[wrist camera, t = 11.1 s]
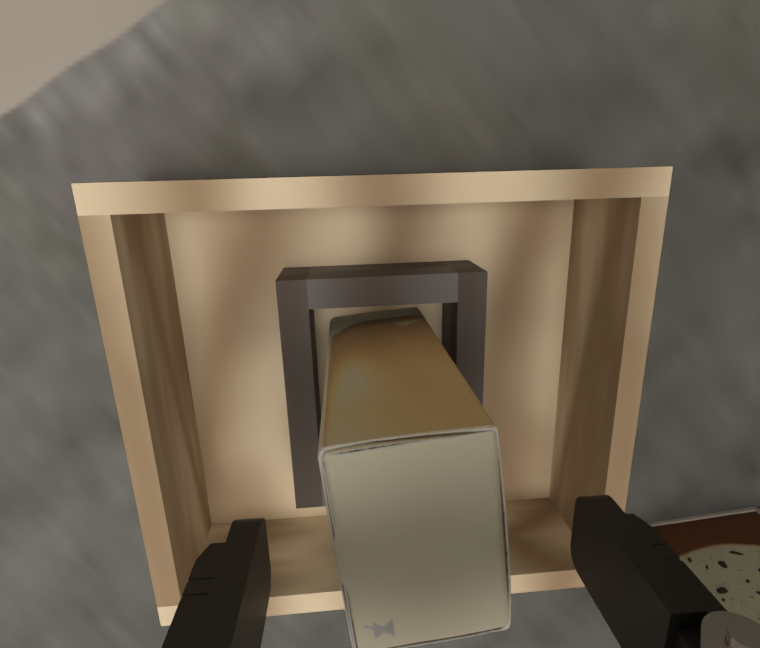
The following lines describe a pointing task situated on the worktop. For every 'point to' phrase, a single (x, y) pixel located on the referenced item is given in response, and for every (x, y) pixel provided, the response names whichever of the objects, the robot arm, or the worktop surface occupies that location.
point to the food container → (721, 554)
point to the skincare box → (411, 487)
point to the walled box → (363, 295)
